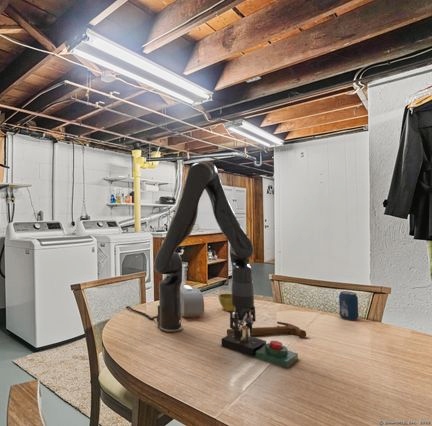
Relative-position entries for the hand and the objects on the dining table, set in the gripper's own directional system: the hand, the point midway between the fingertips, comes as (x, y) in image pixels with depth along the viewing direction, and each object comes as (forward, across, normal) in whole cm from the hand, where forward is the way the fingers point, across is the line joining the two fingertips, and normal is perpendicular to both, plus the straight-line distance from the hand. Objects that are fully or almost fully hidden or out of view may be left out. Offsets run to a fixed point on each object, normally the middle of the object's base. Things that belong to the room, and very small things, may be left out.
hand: (243, 337), depth 112 cm
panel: (+4, 0, 0) cm, 4 cm away
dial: (+1, 0, 0) cm, 1 cm away
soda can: (+4, +66, -17) cm, 68 cm away
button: (0, 0, -11) cm, 11 cm away
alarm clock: (+4, +18, +37) cm, 42 cm away
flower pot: (+4, +38, +27) cm, 47 cm away
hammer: (+4, +18, +1) cm, 18 cm away
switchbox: (+4, 0, -12) cm, 12 cm away
